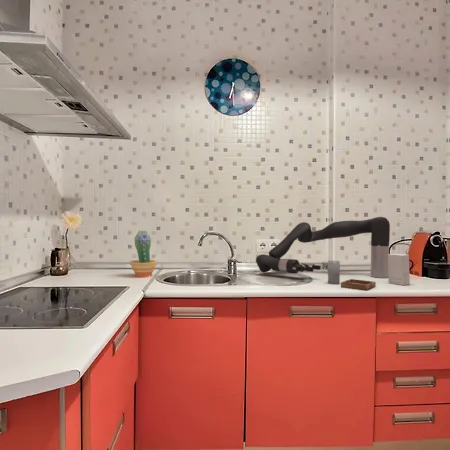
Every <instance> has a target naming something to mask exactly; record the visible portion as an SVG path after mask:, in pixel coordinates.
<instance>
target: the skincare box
mask: <svg viewBox="0 0 450 450" xmlns="http://www.w3.org/2000/svg"><path fill="white" fill-rule="evenodd" d="M387 278H388V284H393V285H399V286H405V285H406V286H407V285H410V282H411V281H410V280H411V279H410V278H411V276H410V255H409V254H408V253H389V254H388V277H387Z"/></svg>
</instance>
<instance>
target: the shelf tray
mask: <svg viewBox="0 0 450 450" xmlns="http://www.w3.org/2000/svg"><path fill="white" fill-rule="evenodd" d="M376 283H377V282H376V281H372V280H371V281H370V280H363V279H355V278H350V279H346V280H343V281H340V288H342V289H343V288H344V289H350V288H351V290H357V289H358V291H359V290H360V291H367V292H368V291H369V290H371V289H374V288H376V285H377V284H376Z"/></svg>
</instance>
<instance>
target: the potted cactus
mask: <svg viewBox="0 0 450 450" xmlns="http://www.w3.org/2000/svg"><path fill="white" fill-rule="evenodd" d="M151 246H152V237H151V235H150V233H148V231H147V230H138V232H137V234H136V235H135V236H134V247H135V249H136V252H137V258H138V259H136V260H130V261H129V262H128V263H129V265H130V266H131V269H132V271H133V272H134V275H135V277H136V276H137V277H136V278H149V276H150V277H152V276H153V272H154V271H155V270H156V266H157V265H158V260H155V259H151V254H150V251H151Z"/></svg>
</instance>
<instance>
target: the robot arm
mask: <svg viewBox="0 0 450 450" xmlns="http://www.w3.org/2000/svg"><path fill="white" fill-rule="evenodd" d="M390 224H391V223H390V221H389V220H388V219H387V218H386V217H384V216H377V217H374V218H369V219H362V220H342V221H341V220H340V221H334V222H332V223H330V224H327V226H325V227H323V228H322V229H319V230H313V229H312V227H311V225H310V223H309V222H306V221H305V222H300V223H298V224H297V225H296V226H295V227H293V229H292V230H291V231H290V232H289V233H288V234H287V235H286V236H285V237H284V238H283V239H282V240H281V241H280V243H278V244H276V245H275V246H274V247H273V248H271V249H270V250H269V252H268V254H263V253H262V254H258V255H257V256H256V258H255V263H256V265H257V267H258V269H259V271H260V272H261V273H268V272H270V271H271V270H272V271H275V272H280V273H281V272H282V273H284V274H285V273H286V274H298V273H299V272H301V273H303V272H314V270H316V271H317V270H318V271H321V270H322V268H321V267H322V266H321V265H316V264H315V263H307V262H306V263H305V262H301V263H300V261H299V260H298V259H293V258H283V257H284V256H285V255H286V254H287V253H288V251H289V250H290V249H291V247H292V245H293V244H294V242H295V241H299V243H306V244H307V243H313V242H316V241H317V242H318V241H321V240H328V239H338V238H339V239H341V238H347V237H348V238H349V237H351V236H352V237H353V236H357V235H361V234H369V233H371V234H370V235H371V236H370V277H372V278H380V279H381V278H382V279H387V278H388V254H390V239H391V237H390V235H391V232H390V231H391V226H390Z"/></svg>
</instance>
